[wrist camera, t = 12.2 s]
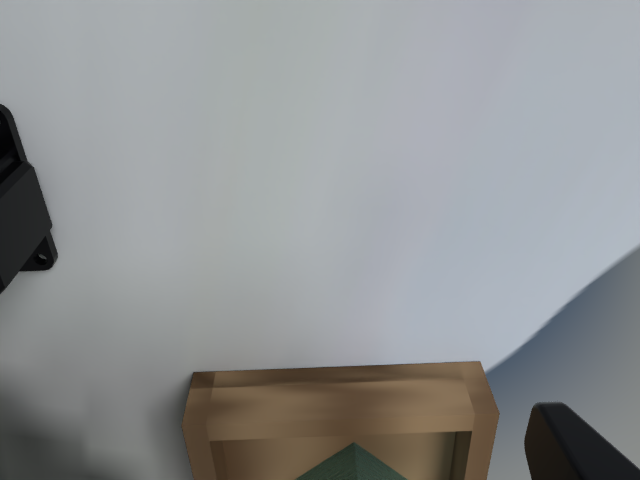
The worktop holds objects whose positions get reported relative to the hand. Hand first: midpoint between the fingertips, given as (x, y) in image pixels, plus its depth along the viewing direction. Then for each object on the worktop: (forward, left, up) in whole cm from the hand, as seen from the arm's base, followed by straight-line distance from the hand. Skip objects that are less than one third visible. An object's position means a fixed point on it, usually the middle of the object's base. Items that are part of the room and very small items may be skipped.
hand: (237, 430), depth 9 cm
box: (+2, -18, -13) cm, 22 cm away
